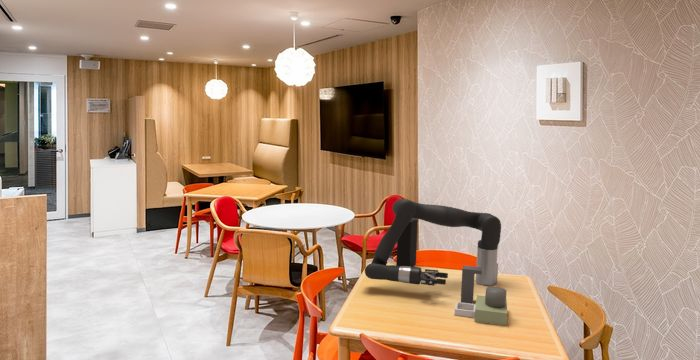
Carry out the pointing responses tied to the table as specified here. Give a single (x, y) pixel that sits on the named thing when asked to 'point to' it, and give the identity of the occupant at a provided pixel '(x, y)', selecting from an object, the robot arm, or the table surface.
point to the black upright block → (407, 245)
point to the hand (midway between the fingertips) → (446, 278)
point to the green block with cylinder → (486, 307)
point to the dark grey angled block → (468, 283)
